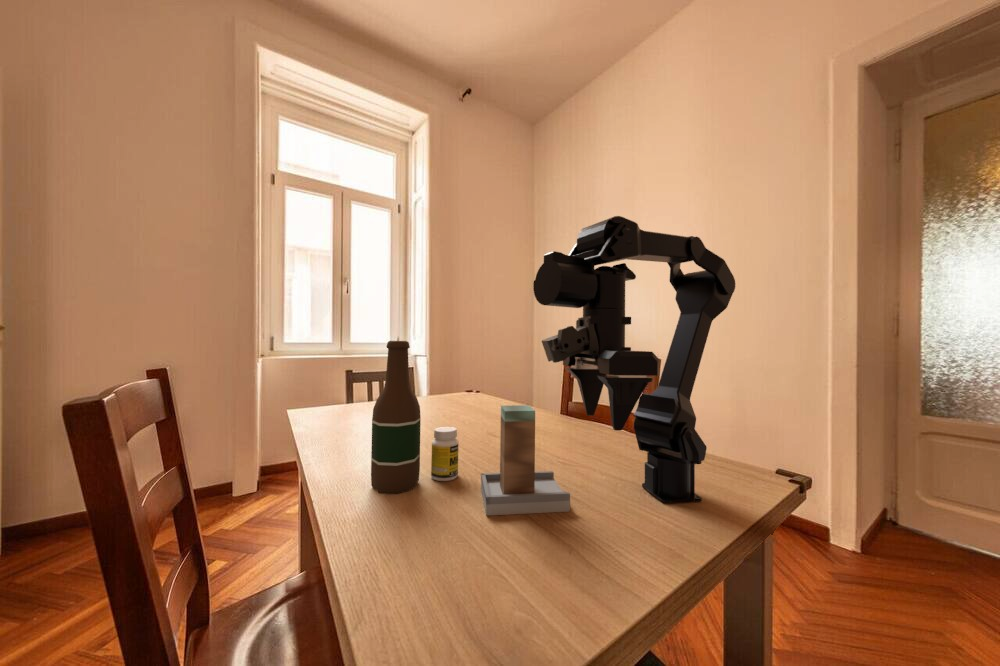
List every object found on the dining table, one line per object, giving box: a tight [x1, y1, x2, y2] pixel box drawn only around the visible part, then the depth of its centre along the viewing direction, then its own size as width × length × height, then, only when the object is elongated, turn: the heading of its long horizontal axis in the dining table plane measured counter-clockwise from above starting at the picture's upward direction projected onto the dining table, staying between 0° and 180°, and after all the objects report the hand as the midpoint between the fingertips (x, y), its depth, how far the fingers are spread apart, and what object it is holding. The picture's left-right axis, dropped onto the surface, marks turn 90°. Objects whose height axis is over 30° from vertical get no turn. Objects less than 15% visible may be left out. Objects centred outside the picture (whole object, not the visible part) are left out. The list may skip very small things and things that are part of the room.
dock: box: [480, 470, 571, 516], centre depth 55 cm, size 12×9×2 cm
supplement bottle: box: [430, 426, 460, 482], centre depth 64 cm, size 5×5×8 cm
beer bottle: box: [370, 340, 422, 495], centre depth 60 cm, size 8×8×24 cm
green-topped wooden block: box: [499, 404, 536, 495], centre depth 54 cm, size 4×4×12 cm
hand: (602, 422), depth 50 cm, fingers open, 9 cm apart
